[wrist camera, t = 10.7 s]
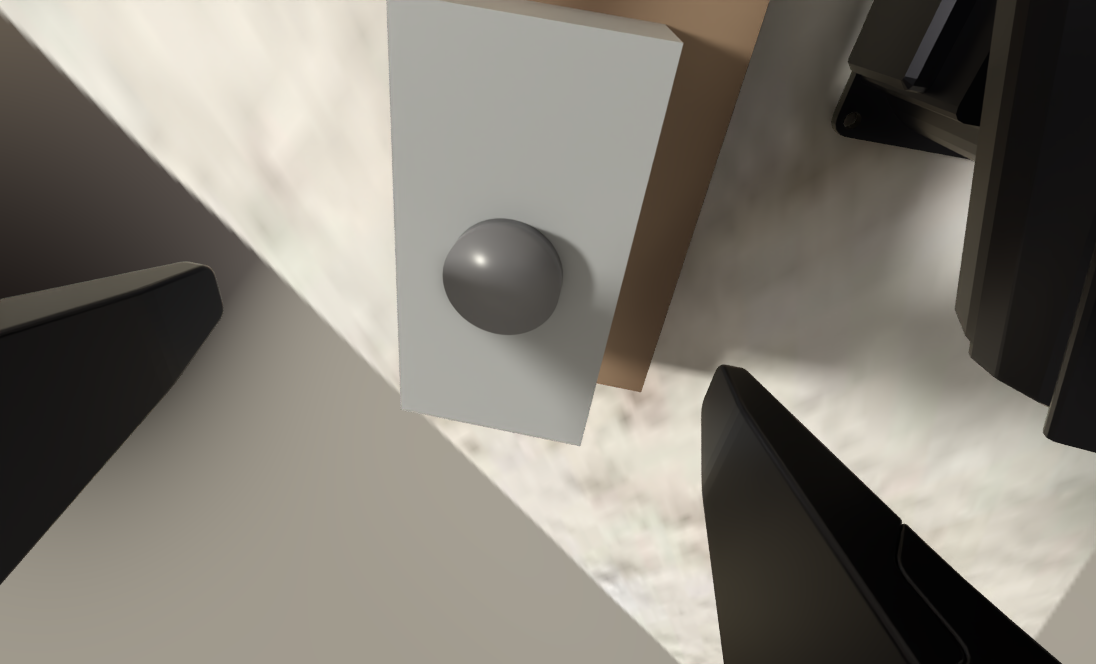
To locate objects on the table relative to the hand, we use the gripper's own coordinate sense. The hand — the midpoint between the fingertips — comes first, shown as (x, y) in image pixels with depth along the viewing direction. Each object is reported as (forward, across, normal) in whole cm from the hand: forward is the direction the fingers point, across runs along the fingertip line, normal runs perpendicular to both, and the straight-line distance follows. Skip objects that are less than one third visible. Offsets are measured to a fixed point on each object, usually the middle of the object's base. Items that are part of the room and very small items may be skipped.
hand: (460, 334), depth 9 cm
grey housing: (+9, 0, 0) cm, 9 cm away
